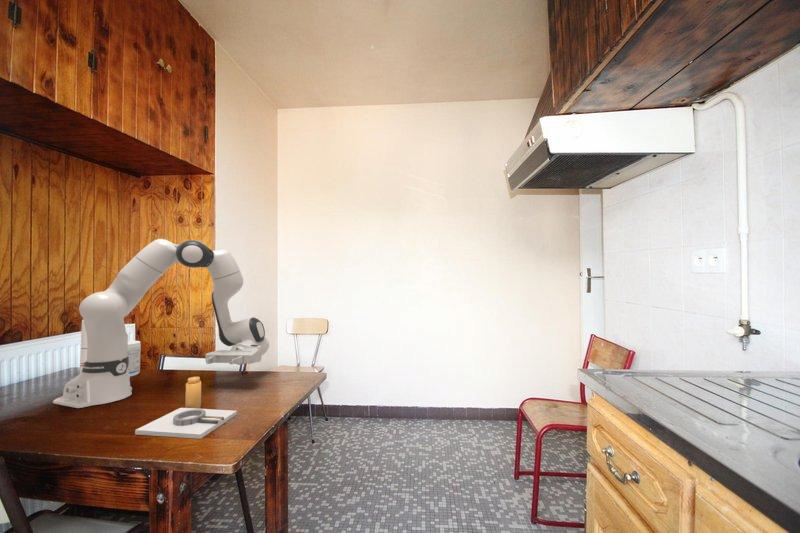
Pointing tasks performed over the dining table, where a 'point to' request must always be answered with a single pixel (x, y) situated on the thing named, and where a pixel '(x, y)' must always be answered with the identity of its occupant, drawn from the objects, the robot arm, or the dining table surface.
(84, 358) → the cylindrical container
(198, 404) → the tan capped bottle
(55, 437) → the dining table surface
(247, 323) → the robot arm
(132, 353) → the supplement tub
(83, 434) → the dining table surface
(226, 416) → the plate
